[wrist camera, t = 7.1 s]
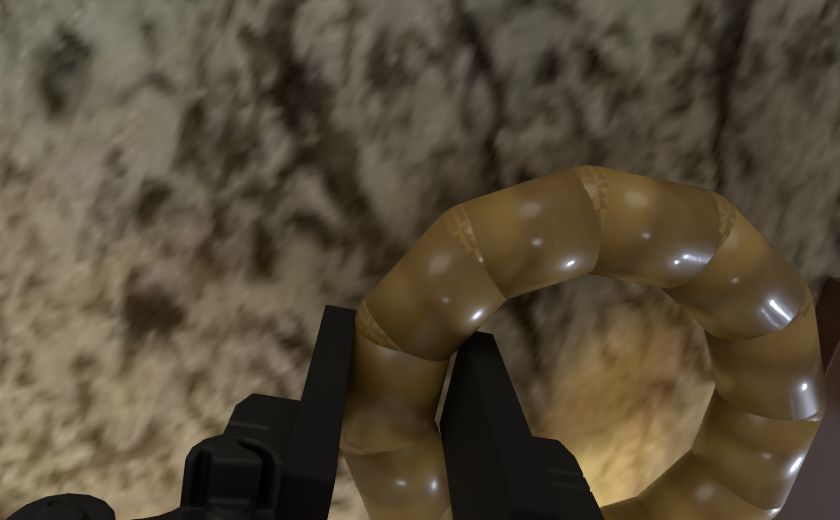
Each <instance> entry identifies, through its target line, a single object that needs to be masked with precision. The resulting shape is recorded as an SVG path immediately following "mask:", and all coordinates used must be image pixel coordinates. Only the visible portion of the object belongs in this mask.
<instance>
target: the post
mask: <svg viewBox="0 0 840 520" xmlns="http://www.w3.org/2000/svg"><path fill="white" fill-rule="evenodd" d="M815 314H816V321H817V328H818V336H819V343H820V350H821V357H822V365H823V372H824V379H825V387H826V394H827V405H826V410H825V413H824V417H823V419H822V421H821V423H820V426H819V428H818V430H817V432H816V435H815V437H814V439H813V441H812V443H811V446H810V448H809V450H808V452H807V455H806V457H805V459H804V461H803V463H802V466H801V468H800V470H799V472H798V475H797V477H796V479H795V481H794V484H793V486H792V488H791V490H790V492H789V495H788V497H787V499H786V501H785V504H784V505H783V507H782V509H781V510H780V512H779V513H778V514H777V515H776V516H775V517H774V518H773V519H772V520H840V279H838V278H833V277H829V278H828V280H827V283H826V285H825V287H824V290H823V292H822V295H821V297H820V299H819V302H818V304H817V306H816V309H815Z"/></svg>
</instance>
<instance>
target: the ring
mask: <svg viewBox="0 0 840 520" xmlns="http://www.w3.org/2000/svg"><path fill="white" fill-rule="evenodd" d="M584 274H593V275H598V276H604V277H609V278H614V279H619V280H625V281H630V282H635V283H640V284H646V285H651V286H656V287H661V288H662V289H663V290H664V291H665V292H666V293H667V294H668V295H669V296H670V297H671V298H672V299H673V300H674V301H675V302H676V303H678V304H679V305H680V306H681V307H682V308H683V309H684V310H685V311H686V312H687V313H688V314H689V315H690V316H691V317H692V318H693V319H694V320H695V321H697V322H698V323H699V324H700V325H701V326H702V327H703V328H704V331H705V336H706V341H707V346H708V351H709V356H710V361H711V366H712V371H713V376H714V381H715V386H716V387H715V389H714V392H713V395H712V397H711V400H710V402H709V405H708V407H707V410H706V413H705V415H704V418H703V420H702V423H701V426H700V428H699V431H698V433H697V436H696V438H695V441H694V444H693V446H692V448H691V449H690V450H689V451H688V452H687V453H686V454H685V455H683V456H682V457H681V458H680V459H679V460H678V461H677V462H675V463H674V464H673V465H672V466H671V467H670V468H669V469H668V470H666V471H665V472H664V473H663V474H662V475H661V476H660V477H658V478H657V479H656V480H655V481H654V482H653V483H652V484H651V485H649V486H648V487H647V488H646V489H645V490H644V491H643V492H641V493H640V494H639V495H638V496H636V497H633V498H629V499H626V500H623V501H619V502H616V503H613V504H609V505H606V506H603V507H600V510H601V512H602V514H603V517H604V519H605V520H772V519H773V518H774V517H775V516H776V515H777V514H778V513H779V512H780V510H781V509H782V507H783V505H784V504H785V501H786V499H787V497H788V495H789V492H790V490H791V488H792V486H793V484H794V481H795V479H796V477H797V475H798V472H799V470H800V468H801V466H802V463H803V461H804V459H805V457H806V455H807V452H808V450H809V448H810V446H811V443H812V441H813V439H814V437H815V435H816V432H817V430H818V428H819V426H820V423H821V421H822V419H823V417H824V413H825V410H826V405H827V394H826V387H825V379H824V372H823V365H822V357H821V350H820V343H819V336H818V328H817V321H816V314H815V306H814V300H813V297H812V294H811V290H810V288H809V286H808V285H807V283H806V281H805V280H804V279H803V278H802V276H801V275H800V274H799V273H798V272H797V271H796V270H795V269H794V268H793V267H792V266H791V265H790V264H789V263H788V262H787V261H786V259H785V258H784V257H783V256H782V255H781V254H780V253H779V252H778V251H777V250H776V249H775V248H774V247H773V246H772V245H771V244H770V243H769V242H768V241H767V240H766V239H765V238H764V237H763V236H762V235H761V234H760V233H759V231H758V230H757V229H756V228H755V227H754V226H753V225H752V224H751V223H750V222H749V221H748V220H747V219H746V218H745V217H744V216H743V215H742V214H741V213H740V212H739V211H738V210H737V209H736V208H735V207H734V206H733V205H732V204H731V203H730V202H729V201H728V200H727V199H725V198H724V197H722V196H721V195H719V194H717V193H715V192H713V191H710V190H707V189H703V188H699V187H694V186H689V185H685V184H680V183H675V182H671V181H666V180H661V179H656V178H652V177H647V176H642V175H637V174H633V173H628V172H623V171H618V170H614V169H609V168H604V167H599V166H592V165H578V166H573V167H569V168H566V169H563V170H560V171H557V172H554V173H551V174H548V175H545V176H542V177H539V178H535V179H532V180H529V181H526V182H523V183H520V184H517V185H514V186H511V187H508V188H505V189H502V190H499V191H496V192H493V193H490V194H487V195H484V196H481V197H478V198H475V199H472V200H469V201H466V202H463V203H460V204H458V205H455V206H453V207H451V208H450V209H448V210H447V211H445V212H444V213H443V214H442V215H441V216H440V217H439V218H438V219H437V220H436V221H435V222H434V223H433V224H432V225H431V226H430V228H429V229H428V230H427V231H426V232H425V233H424V234H423V235H422V236H421V237H420V238H419V240H418V241H417V242H416V243H415V244H414V245H413V246H412V247H411V248H410V249H409V250H408V252H407V253H406V254H405V255H404V256H403V257H402V258H401V259H400V260H399V261H398V262H397V263H396V265H395V266H394V267H393V268H392V269H391V270H390V271H389V272H388V273H387V274H386V275H385V277H384V278H383V279H382V280H381V281H380V282H379V283H378V284H377V285H376V286H375V287H374V288H373V290H372V291H371V292H370V293H369V294H368V295H367V296H366V297H365V299H364V300H363V301H362V303H361V304H360V306H359V308H358V310H357V313H356V315H355V328H354V335H353V343H352V351H351V359H350V367H349V375H348V383H347V390H346V398H345V406H344V414H343V422H342V430H341V438H340V445H339V446H340V449H341V451H342V453H343V456H344V458H345V460H346V463H347V465H348V467H349V470H350V472H351V474H352V477H353V479H354V481H355V484H356V486H357V488H358V491H359V493H360V496H361V498H362V500H363V503H364V505H365V507H366V510H367V512H368V514H369V517H370V519H371V520H453V516H452V509H451V502H450V495H449V488H448V481H447V474H446V467H445V460H444V453H443V446H442V439H441V436H440V433H439V431H438V428H437V425H436V422H435V416H436V412H437V408H438V404H439V400H440V396H441V392H442V388H443V384H444V380H445V376H446V372H447V368H448V364H449V360H450V357H451V356H452V355H453V354H454V353H455V352H456V351H457V350H458V349H459V348H460V347H461V345H462V344H463V343H464V342H465V341H466V340H467V339H468V338H469V337H470V336H471V335H472V334H473V333H474V332H475V331H476V330H477V329H478V328H479V327H480V326H481V325H482V324H483V323H484V322H485V321H486V320H487V319H488V318H489V317H490V316H491V315H492V314H493V313H494V312H495V311H496V310H497V309H498V308H499V307H500V306H501V305H502V304H503V303H504V302H505V301H506V300H507V299H510V298H513V297H516V296H519V295H522V294H525V293H528V292H531V291H535V290H538V289H541V288H544V287H547V286H550V285H553V284H556V283H560V282H563V281H566V280H569V279H572V278H575V277H578V276H581V275H584Z"/></svg>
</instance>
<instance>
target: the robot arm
mask: <svg viewBox="0 0 840 520" xmlns="http://www.w3.org/2000/svg"><path fill="white" fill-rule="evenodd" d="M356 312H357V310H353V309H348V308H342V307H336V306H331V305H326V306H325V309H324V313H323V317H322V321H321V325H320V329H319V333H318V336H317V340H316V344H315V348H314V352H313V356H312V360H311V363H310V367H309V371H308V375H307V379H306V383H305V386H304V390H303V394H302V398H301V401H298V400H292V399H286V398H279V397H273V396H267V395H261V394H254V393H252V394H251V395H250V396H248V397H247V398H245V399H244V400H243V401H241V402H240V403H239V404H237V405H236V406H235V409H234V411H233V413H232V415H231V418H230V420H229V423H228V424H227V427H226V429H225V431H224V433H223V434H221V435H218V436H214V437H211V438H207V439H205V440H203V441H201V442H200V443H198V444H197V445H195V446H194V447H192V449H191V450H190V452H189V454H188V455H187V457H186V460H185V468H184V477H183V485H182V494H181V502H180V507H179V508H177V509H175V510H173V511H171V512H168V513H165V514H162V515H159V516H154V517H149V518H143V519H133V520H327V518H328V513H329V508H330V504H331V499H332V494H333V489H334V484H335V477H336V469H337V461H338V453H339V445H340V438H341V430H342V422H343V414H344V406H345V398H346V390H347V383H348V375H349V367H350V359H351V351H352V343H353V335H354V328H355V315H356ZM439 425H440V432H441V439H442V446H443V453H444V460H445V467H446V474H447V481H448V488H449V495H450V502H451V509H452V516H453V520H605V519H604V517H603V514H602V512H601V510H600V508H599V506H598V504H597V502H596V500H595V498H594V496H593V494H592V492H590V487H589V485H588V483H587V481H586V479H585V477H583V473H582V470H581V468H580V466H579V464H578V462H577V460H576V458H575V456H574V455H573V454H572V453H571V452H570V451H569V450H568V449H567V448H566V447H565V446H564V445H563V444H562V443H561V442H559V441H558V440H553V439H547V438H541V437H535V436H532V434H531V432H530V429H529V427H528V424H527V421H526V419H525V416H524V414H523V411H522V408H521V406H520V403H519V401H518V398H517V396H516V393H515V390H514V388H513V385H512V383H511V380H510V378H509V375H508V372H507V370H506V367H505V365H504V362H503V360H502V357H501V354H500V352H499V349H498V347H497V344H496V342H495V339H494V336H493V334H489V333H483V332H477V331H475V332H474V333H473V334H472V335H471V336H470V337H469V338H468V339H467V340H466V341H465V342H464V343H463V344H462V345H461V347H460V348H459V349H458V352H457V356H456V360H455V364H454V368H453V372H452V376H451V380H450V384H449V388H448V392H447V396H446V400H445V404H444V408H443V412H442V416H441V420H440V424H439ZM6 520H116V519H115V513H114V510H113V509H112V508H111V507H110V506H109V505H108V504H107V503H106V502H105V501H103V500H100V499H98V498H95V497H93V496H90V495H84V494H71V493H67V494H61V495H54V496H48V497H45V498H42V499H39V500H37V501H34V502H32V503H29V504H27V505H25V506H23V507H22V508H21V509H19V510H18V511H16V512H15V513H14V514H12V515H11V516H9V517H8V518H7V519H6Z"/></svg>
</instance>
